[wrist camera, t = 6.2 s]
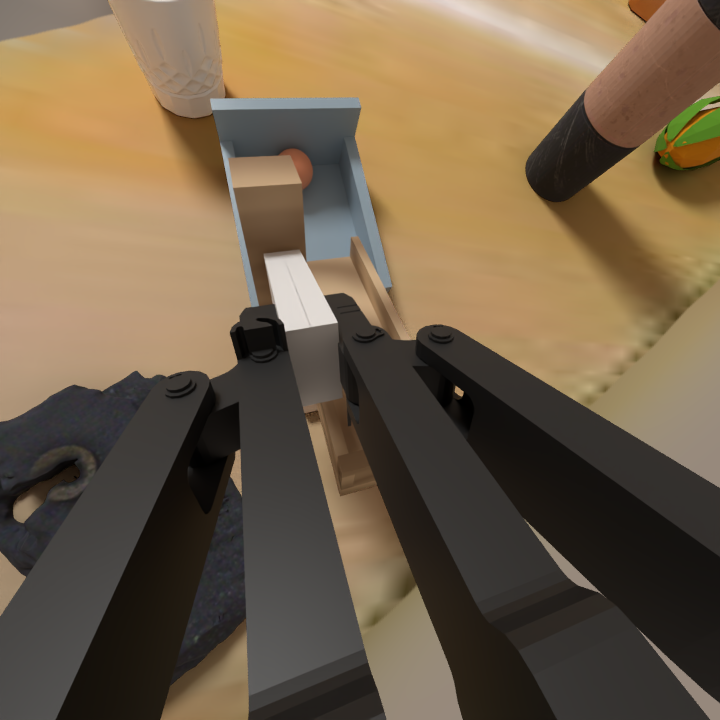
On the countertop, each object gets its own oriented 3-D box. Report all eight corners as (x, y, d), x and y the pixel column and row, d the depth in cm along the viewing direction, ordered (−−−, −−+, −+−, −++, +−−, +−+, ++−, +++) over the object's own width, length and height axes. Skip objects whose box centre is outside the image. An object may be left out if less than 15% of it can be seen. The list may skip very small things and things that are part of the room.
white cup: (246, 85, 35) (230, -44, 25) (204, 139, 33) (169, 21, 23) (175, 42, 34) (131, -108, 24) (127, 94, 32) (58, -47, 22)
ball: (265, 151, 29) (267, 178, 33) (292, 180, 29) (292, 205, 33) (296, 132, 30) (295, 161, 34) (322, 161, 30) (318, 187, 34)
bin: (380, 302, 33) (403, 272, 27) (256, 321, 31) (247, 293, 24) (345, 159, 36) (358, 97, 29) (226, 165, 33) (209, 98, 26)
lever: (455, 462, 19) (587, 302, 9) (299, 508, 17) (261, 362, 7) (361, 265, 29) (377, 92, 20) (256, 279, 27) (217, 92, 17)
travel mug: (530, 204, 40) (759, -2, 20) (516, 147, 41) (721, -100, 21) (584, 204, 41) (842, 13, 22) (569, 149, 42) (802, -78, 23)
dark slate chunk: (114, 722, 24) (72, 793, 20) (-45, 463, 25) (-121, 473, 20) (297, 572, 28) (298, 602, 24) (155, 354, 29) (130, 341, 24)
